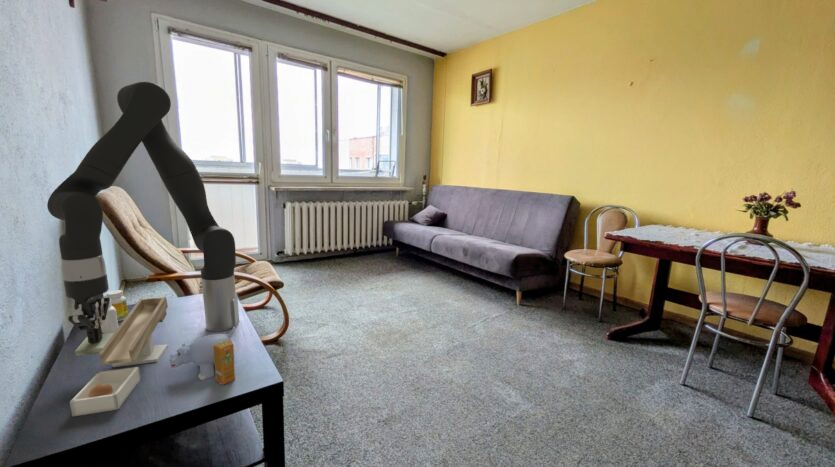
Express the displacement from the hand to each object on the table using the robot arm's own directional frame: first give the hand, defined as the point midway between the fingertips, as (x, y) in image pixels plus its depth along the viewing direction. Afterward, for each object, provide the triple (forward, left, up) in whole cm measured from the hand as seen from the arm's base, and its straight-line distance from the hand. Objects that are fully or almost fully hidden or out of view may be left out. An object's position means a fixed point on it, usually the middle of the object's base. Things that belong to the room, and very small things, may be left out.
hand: (95, 341), depth 86 cm
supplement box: (-30, +12, -9) cm, 34 cm away
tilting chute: (-3, -7, -4) cm, 9 cm away
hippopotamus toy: (-25, +4, -9) cm, 27 cm away
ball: (-6, +14, -6) cm, 16 cm away
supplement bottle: (+11, -35, -9) cm, 38 cm away
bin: (-6, +11, -9) cm, 16 cm away
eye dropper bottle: (+9, -25, -9) cm, 28 cm away
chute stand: (-6, -6, -9) cm, 13 cm away
